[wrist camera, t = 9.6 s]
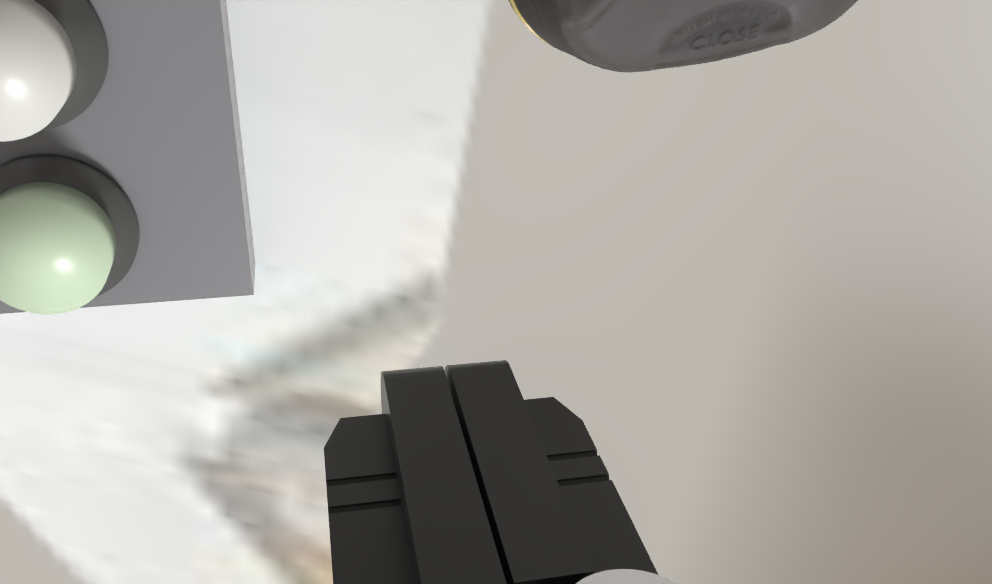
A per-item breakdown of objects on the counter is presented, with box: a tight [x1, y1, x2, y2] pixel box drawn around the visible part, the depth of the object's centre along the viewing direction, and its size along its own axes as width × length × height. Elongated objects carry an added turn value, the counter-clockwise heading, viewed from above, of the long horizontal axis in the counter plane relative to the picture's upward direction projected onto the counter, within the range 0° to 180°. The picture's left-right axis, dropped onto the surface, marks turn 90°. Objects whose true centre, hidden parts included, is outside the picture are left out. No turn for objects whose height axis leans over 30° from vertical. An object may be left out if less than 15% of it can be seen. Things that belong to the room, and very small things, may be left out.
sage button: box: [0, 182, 117, 314], centre depth 34 cm, size 5×5×2 cm
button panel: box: [0, 0, 255, 314], centre depth 33 cm, size 21×14×4 cm, turn 179°
